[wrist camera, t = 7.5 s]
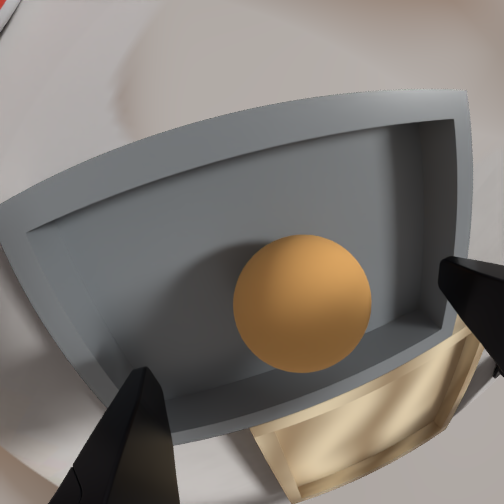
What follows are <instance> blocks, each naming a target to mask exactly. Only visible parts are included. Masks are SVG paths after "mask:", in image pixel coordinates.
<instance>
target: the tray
mask: <svg viewBox="0 0 504 504" xmlns="http://www.w3.org/2000/svg"><path fill="white" fill-rule="evenodd" d="M472 195H473V156H472V136H471V123H470V113H469V104H468V97H467V91H466V90H451V89H408V90H406V89H404V90H383V91H368V92H356V93H347V94H337V95H329V96H321V97H314V98H307V99H301V100H294V101H288V102H282V103H277V104H272V105H267V106H262V107H257V108H252V109H247V110H243V111H238V112H234V113H230V114H226V115H222V116H218V117H214V118H210V119H206V120H203V121H199V122H195V123H192V124H189V125H185V126H182V127H179V128H175V129H172V130H169V131H165V132H162V133H159V134H157V135H153V136H151V137H147V138H144V139H141V140H139V141H136V142H133V143H130V144H128V145H125V146H122V147H120V148H117V149H114V150H112V151H109V152H107V153H104V154H102V155H99V156H97V157H94V158H92V159H90V160H87V161H85V162H83V163H80V164H78V165H76V166H74V167H71V168H69V169H67V170H65V171H63V172H61V173H58V174H56V175H54V176H52V177H50V178H48V179H46V180H44V181H42V182H40V183H38V184H36V185H34V186H32V187H30V188H28V189H27V190H25V191H23V192H21V193H19V194H17V195H15V196H14V197H12V198H10V199H8V200H7V201H5V202H3V203H1V204H0V243H1V245H2V247H3V250H4V252H5V254H6V256H7V258H8V261H9V263H10V265H11V267H12V269H13V271H14V273H15V275H16V277H17V279H18V281H19V282H20V284H21V286H22V288H23V290H24V292H25V294H26V295H27V297H28V299H29V301H30V302H31V304H32V306H33V308H34V309H35V311H36V313H37V314H38V316H39V318H40V319H41V321H42V322H43V324H44V326H45V327H46V329H47V330H48V332H49V333H50V335H51V336H52V338H53V339H54V341H55V342H56V344H57V345H58V347H59V348H60V350H61V351H62V352H63V354H64V355H65V357H66V358H67V359H68V361H69V362H70V363H71V365H72V366H73V367H74V369H75V370H76V371H77V373H78V374H79V375H80V377H81V378H82V379H83V380H84V382H85V383H86V384H87V385H88V387H89V388H90V389H91V390H92V391H93V393H94V394H95V395H96V396H97V397H98V398H99V400H100V401H101V402H102V403H103V404H104V405H105V407H106V408H108V407H109V405H110V404H111V402H112V400H113V399H114V397H115V396H116V394H117V393H118V391H119V389H120V388H121V386H122V385H123V383H124V382H125V380H126V379H127V377H128V376H129V374H130V372H131V371H132V370H133V369H135V368H139V367H143V366H147V367H148V368H149V369H150V370H151V372H152V373H153V375H154V376H155V378H156V379H157V381H158V382H159V384H160V385H161V387H162V390H163V394H164V400H165V405H166V411H167V416H168V421H169V426H170V431H171V436H172V442H173V446H174V445H179V444H185V443H190V442H194V441H199V440H203V439H208V438H212V437H216V436H220V435H224V434H228V433H232V432H236V431H239V430H243V429H246V428H250V427H253V426H257V425H260V424H263V423H266V422H269V421H272V420H276V419H279V418H281V417H284V416H287V415H290V414H293V413H296V412H299V411H301V410H304V409H307V408H309V407H312V406H314V405H317V404H319V403H322V402H324V401H327V400H329V399H332V398H334V397H337V396H339V395H341V394H343V393H346V392H348V391H350V390H353V389H355V388H357V387H359V386H361V385H363V384H365V383H368V382H370V381H372V380H374V379H376V378H378V377H380V376H382V375H384V374H386V373H388V372H390V371H392V370H394V369H395V368H397V367H399V366H401V365H403V364H405V363H407V362H408V361H410V360H412V359H414V358H416V357H417V356H419V355H421V354H423V353H424V352H426V351H428V350H429V349H431V348H433V347H434V346H436V345H438V344H439V343H441V342H442V341H444V340H446V339H447V338H449V337H450V336H452V333H453V329H454V325H455V321H456V317H457V313H456V311H455V310H454V308H453V307H452V305H451V304H450V303H449V301H448V300H447V299H446V297H445V296H444V294H443V293H442V292H441V290H440V289H439V287H438V283H437V281H438V272H439V264H440V261H441V260H442V259H444V258H446V257H448V256H455V257H461V258H466V259H467V256H468V248H469V239H470V229H471V216H472ZM291 235H315V236H320V237H323V238H326V239H329V240H331V241H333V242H335V243H337V244H339V245H340V246H342V247H343V248H345V249H346V250H347V251H348V252H349V253H350V254H352V256H353V257H354V258H355V259H356V260H357V261H358V263H359V264H360V266H361V267H362V269H363V270H364V273H365V275H366V277H367V280H368V282H369V286H370V291H371V300H372V302H371V315H370V319H369V323H368V326H367V329H366V331H365V333H364V335H363V337H362V339H361V340H360V342H359V343H358V345H357V346H356V347H355V348H354V350H353V351H352V352H351V353H350V354H349V355H348V356H346V357H345V358H344V359H343V360H341V361H340V362H338V363H336V364H335V365H333V366H331V367H328V368H326V369H323V370H319V371H315V372H309V373H294V372H287V371H284V370H280V369H277V368H274V367H272V366H270V365H268V364H267V363H265V362H263V361H262V360H261V359H259V358H258V357H257V356H256V355H255V354H254V353H253V352H252V351H251V350H250V349H249V348H248V347H247V345H246V344H245V342H244V341H243V339H242V338H241V335H240V333H239V331H238V329H237V326H236V322H235V318H234V312H233V298H234V291H235V287H236V283H237V281H238V278H239V275H240V273H241V272H242V270H243V268H244V267H245V265H246V264H247V262H248V261H249V260H250V259H251V258H252V257H253V255H254V254H255V253H257V252H258V251H259V250H260V249H261V248H263V247H264V246H266V245H267V244H269V243H271V242H273V241H275V240H278V239H280V238H283V237H287V236H291Z"/></svg>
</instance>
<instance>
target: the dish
mask: <svg viewBox="0 0 504 504" xmlns="http://www.w3.org/2000/svg"><path fill="white" fill-rule="evenodd" d="M483 350H484V347H483V346H482V344H481V343H480V342H479V341H478V339H477V338H476V337H475V336H474V334H473V333H472V332H471V331H470V330H469V328H468V327H467V326H466V325H465V323H464V322H463V321H462V320H461V318H460V317H459V315H458V314H457V317H456V321H455V325H454V329H453V333H452V336H450V337H449V338H447V339H446V340H444V341H442V342H441V343H439V344H438V345H436V346H434V347H433V348H431V349H429V350H428V351H426V352H424V353H423V354H421V355H419V356H417V357H416V358H414V359H412V360H410V361H408V362H407V363H405V364H403V365H401V366H399V367H397V368H395V369H394V370H392V371H390V372H388V373H386V374H384V375H382V376H380V377H378V378H376V379H374V380H372V381H370V382H368V383H365V384H363V385H361V386H359V387H357V388H355V389H353V390H350V391H348V392H346V393H343V394H341V395H339V396H337V397H334V398H332V399H329V400H327V401H324V402H322V403H319V404H317V405H314V406H312V407H309V408H307V409H304V410H301V411H299V412H296V413H293V414H290V415H287V416H284V417H281V418H279V419H276V420H272V421H269V422H266V423H263V424H260V425H257V426H253V427H250V428H249V429H250V431H251V433H252V435H253V437H254V438H255V440H256V442H257V444H258V446H259V448H260V450H261V452H262V453H263V455H264V457H265V459H266V461H267V462H268V464H269V466H270V468H271V470H272V471H273V473H274V475H275V477H276V478H277V480H278V482H279V484H280V485H281V487H282V489H283V490H284V492H285V494H286V496H287V497H288V499H289V501H290V502H291V504H295V503H298V502H301V501H304V500H307V499H310V498H313V497H316V496H319V495H321V494H324V493H327V492H329V491H332V490H334V489H337V488H339V487H341V486H344V485H346V484H348V483H351V482H353V481H355V480H357V479H360V478H362V477H364V476H366V475H368V474H370V473H372V472H374V471H376V470H378V469H380V468H382V467H384V466H386V465H388V464H390V463H391V462H393V461H395V460H397V459H399V458H400V457H402V456H404V455H406V454H408V453H409V452H411V451H413V450H414V449H416V448H418V447H419V446H421V445H422V444H424V443H426V442H427V441H429V440H430V439H432V438H433V437H435V436H436V435H438V434H439V433H441V432H442V431H444V430H445V429H446V428H447V426H448V424H449V423H450V421H451V419H452V417H453V415H454V413H455V412H456V410H457V408H458V406H459V404H460V402H461V400H462V398H463V396H464V394H465V392H466V390H467V387H468V385H469V383H470V381H471V379H472V376H473V374H474V372H475V369H476V367H477V365H478V362H479V360H480V357H481V355H482V352H483Z"/></svg>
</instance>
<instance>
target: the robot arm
mask: <svg viewBox="0 0 504 504" xmlns="http://www.w3.org/2000/svg"><path fill="white" fill-rule="evenodd" d="M437 283H438V287H439V289H440V290H441V292H442V293H443V294H444V296H445V297H446V299H447V300H448V301H449V303H450V304H451V305H452V307H453V308H454V310H455V311H456V313H457V314H458V315H459V317H460V318H461V320H462V321H463V322H464V323H465V325H466V326H467V327H468V328H469V330H470V331H471V332H472V333H473V334H474V336H475V337H476V338H477V339H478V341H479V342H480V343H481V344H482V346H483V347H484V348H485V349H486V351H487V352H488V353H489V355H490V356H491V357H492V358H493V360H494V361H495V362H496V364H497V365H498V366H497V368H496V371H495V373H494V375H493V377H494V378H497V377H498V376H499V375H500V374H501V375H502V376H503V377H504V266H503V265H498V264H493V263H488V262H483V261H477V260H472V259H466V258H461V257H455V256H448V257H446V258H444V259H442V260H441V261H440V264H439V272H438V281H437ZM48 504H180V500H179V493H178V486H177V478H176V469H175V460H174V451H173V442H172V436H171V431H170V426H169V421H168V416H167V411H166V405H165V400H164V394H163V390H162V387H161V385H160V384H159V382H158V381H157V379H156V378H155V376H154V375H153V373H152V372H151V370H150V369H149V368H148V367H147V366H143V367H139V368H135V369H133V370H132V371H131V372H130V374H129V376H128V377H127V379H126V380H125V382H124V383H123V385H122V386H121V388H120V389H119V391H118V393H117V394H116V396H115V397H114V399H113V400H112V402H111V404H110V405H109V407H108V408H107V410H106V411H105V413H104V415H103V416H102V418H101V419H100V421H99V423H98V424H97V426H96V427H95V429H94V431H93V432H92V434H91V435H90V437H89V439H88V440H87V442H86V444H85V445H84V447H83V449H82V450H81V452H80V454H79V455H78V457H77V458H76V460H75V462H74V463H73V467H71V468H70V470H69V472H68V473H67V475H66V477H65V478H64V480H63V482H62V483H61V485H60V486H59V488H58V490H57V492H56V493H55V494H54V496H53V497H52V499H51V500H50V502H49V503H48Z"/></svg>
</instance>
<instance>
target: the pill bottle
mask: <svg viewBox="0 0 504 504" xmlns="http://www.w3.org/2000/svg"><path fill="white" fill-rule="evenodd" d="M20 1H21V0H0V32H1V30H2V29H3V27H4V26H5V24H6V23H7V22H8V20H9V19H10V17H11V15H12V14H13V12H14V11H15V9H16V8H17V6H18V4H19V3H20Z"/></svg>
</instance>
